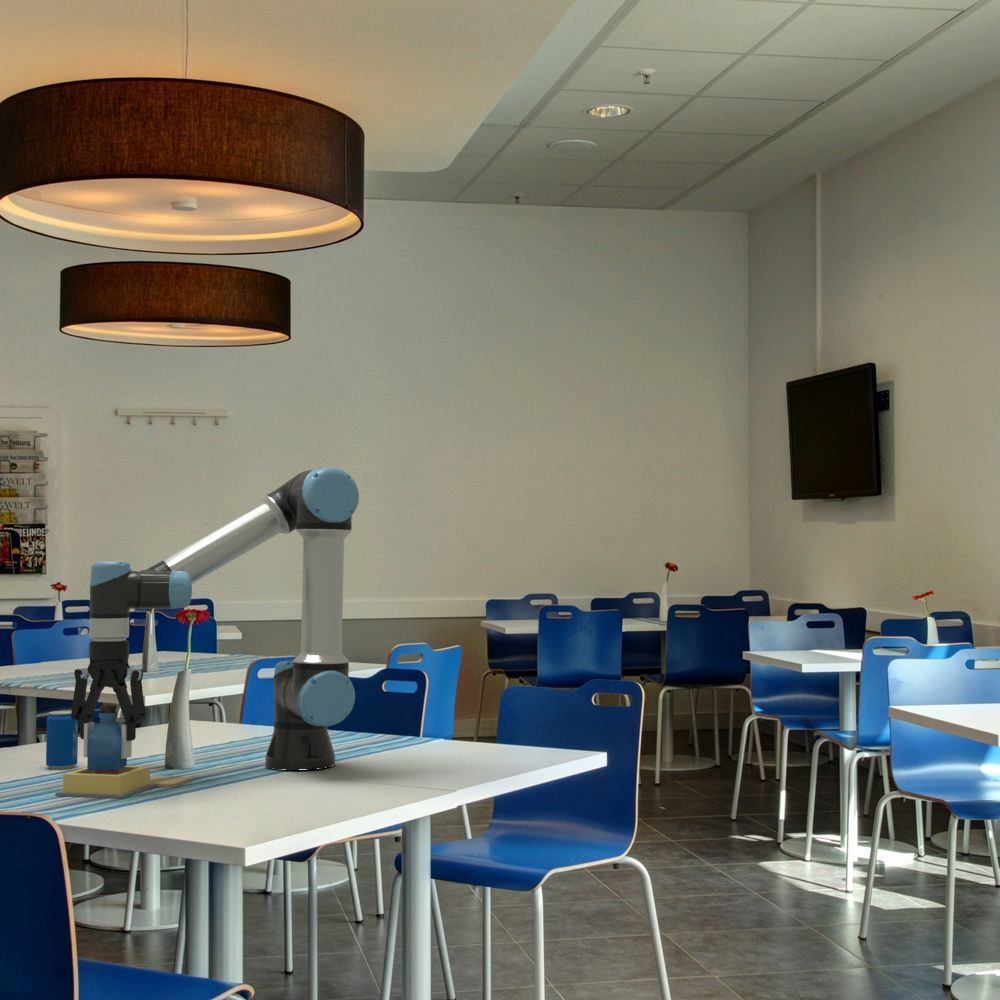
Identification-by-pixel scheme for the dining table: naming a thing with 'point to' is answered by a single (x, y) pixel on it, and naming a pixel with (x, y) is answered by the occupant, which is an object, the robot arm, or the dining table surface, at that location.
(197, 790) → the dining table surface
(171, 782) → the coaster
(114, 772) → the red short rounded piece
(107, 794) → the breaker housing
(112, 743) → the perfume bottle
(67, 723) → the beverage can
